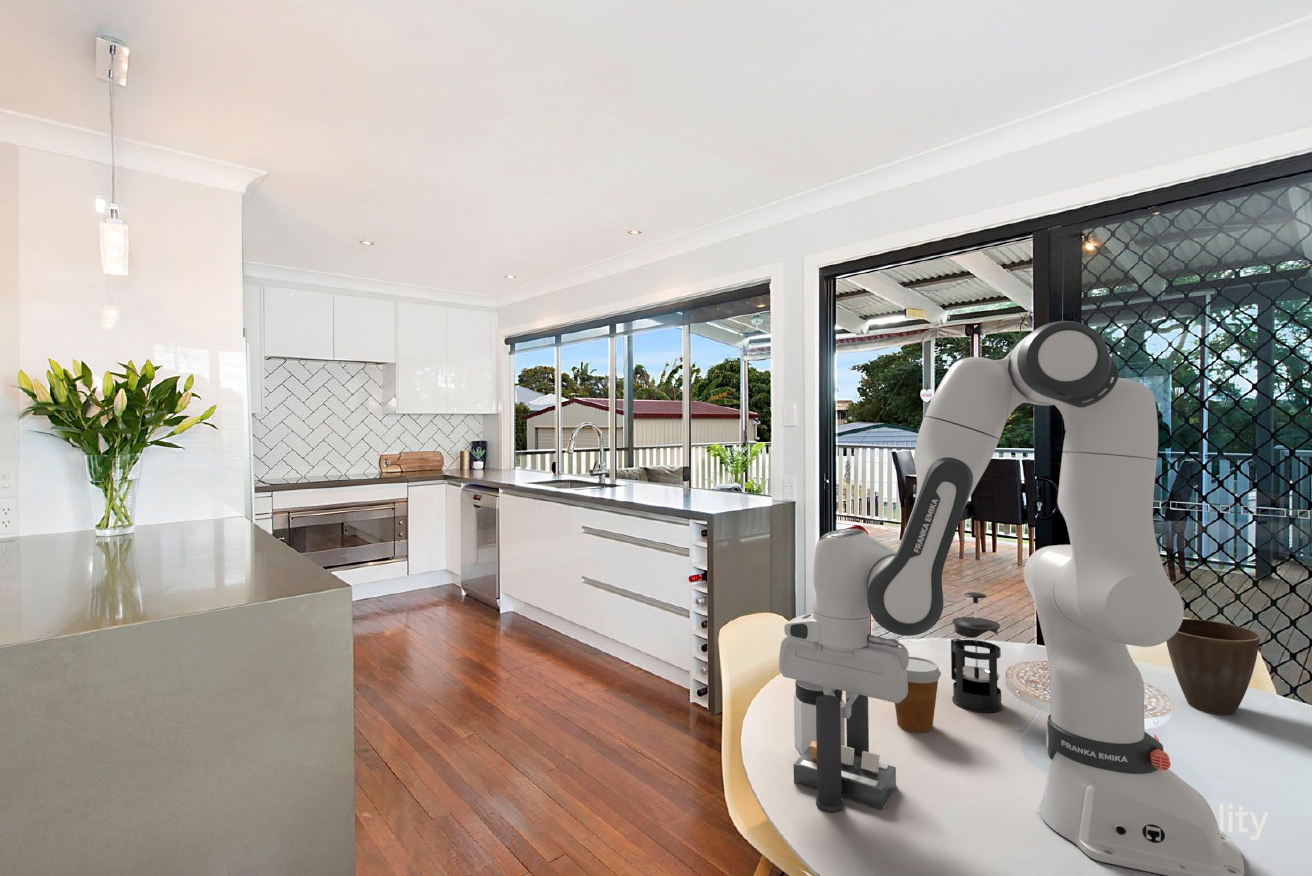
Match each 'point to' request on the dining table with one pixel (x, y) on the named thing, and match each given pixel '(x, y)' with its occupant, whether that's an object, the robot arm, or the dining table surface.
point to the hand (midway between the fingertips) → (840, 715)
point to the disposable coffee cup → (919, 696)
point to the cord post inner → (858, 726)
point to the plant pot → (1213, 663)
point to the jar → (809, 714)
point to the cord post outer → (828, 754)
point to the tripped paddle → (813, 749)
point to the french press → (975, 682)
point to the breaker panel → (852, 780)
